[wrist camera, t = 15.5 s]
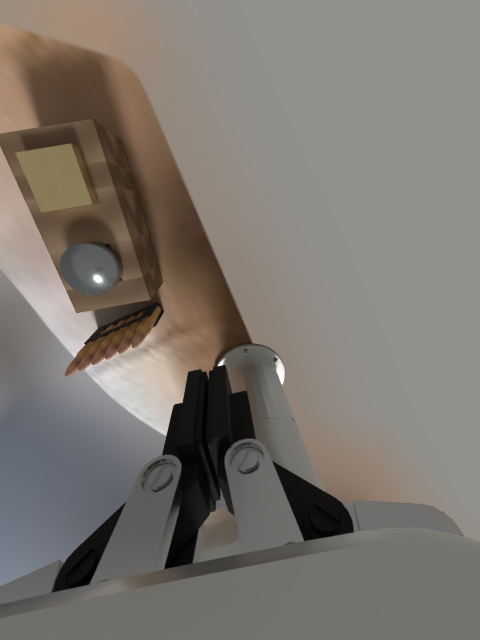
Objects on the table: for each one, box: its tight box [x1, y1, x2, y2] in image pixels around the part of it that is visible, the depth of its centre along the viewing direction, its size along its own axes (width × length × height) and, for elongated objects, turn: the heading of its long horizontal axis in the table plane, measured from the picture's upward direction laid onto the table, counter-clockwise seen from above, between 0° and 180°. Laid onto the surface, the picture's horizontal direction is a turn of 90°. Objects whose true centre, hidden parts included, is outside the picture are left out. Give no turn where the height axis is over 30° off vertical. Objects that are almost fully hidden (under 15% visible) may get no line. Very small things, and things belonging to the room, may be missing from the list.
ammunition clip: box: [65, 303, 164, 376], centre depth 35 cm, size 11×2×12 cm, turn 113°
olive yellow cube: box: [15, 144, 99, 213], centre depth 26 cm, size 5×5×5 cm
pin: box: [60, 241, 123, 296], centre depth 31 cm, size 5×5×10 cm
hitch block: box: [0, 119, 163, 313], centre depth 31 cm, size 18×9×8 cm, turn 9°
